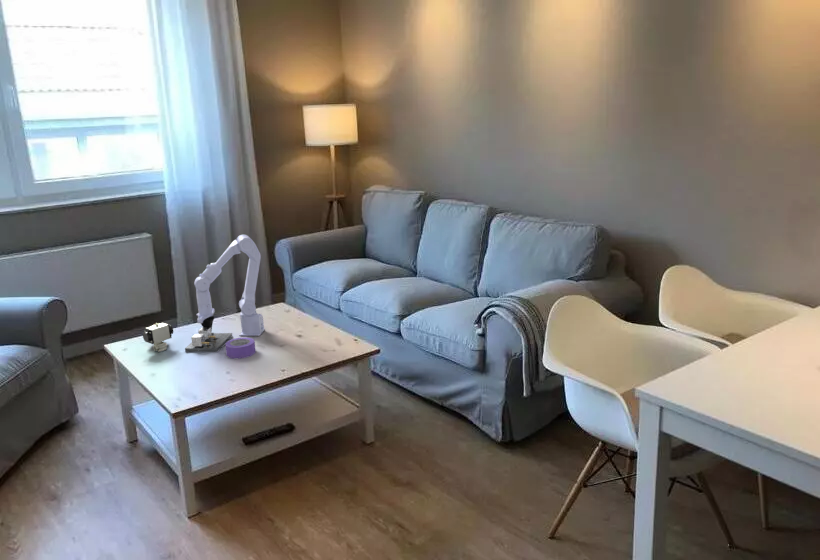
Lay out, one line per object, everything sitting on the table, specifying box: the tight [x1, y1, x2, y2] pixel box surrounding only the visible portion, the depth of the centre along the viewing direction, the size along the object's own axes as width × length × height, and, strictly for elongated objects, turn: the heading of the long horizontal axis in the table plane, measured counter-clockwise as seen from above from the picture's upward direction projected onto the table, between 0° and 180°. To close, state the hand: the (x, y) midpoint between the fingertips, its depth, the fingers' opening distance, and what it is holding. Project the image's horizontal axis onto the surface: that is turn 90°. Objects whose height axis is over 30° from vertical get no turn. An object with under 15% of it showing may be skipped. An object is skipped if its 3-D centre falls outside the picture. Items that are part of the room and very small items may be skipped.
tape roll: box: [224, 336, 256, 359], centre depth 287 cm, size 12×12×5 cm
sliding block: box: [197, 326, 216, 339], centre depth 300 cm, size 6×4×4 cm, turn 84°
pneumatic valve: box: [142, 322, 174, 353], centre depth 294 cm, size 6×12×12 cm, turn 140°
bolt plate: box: [184, 332, 233, 353], centre depth 299 cm, size 14×18×6 cm
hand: (208, 333), depth 304 cm, fingers closed
